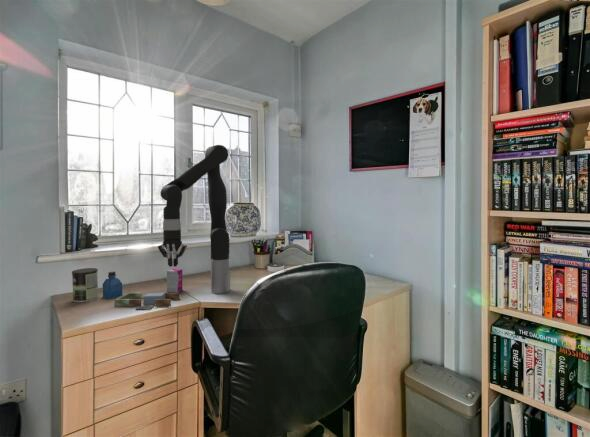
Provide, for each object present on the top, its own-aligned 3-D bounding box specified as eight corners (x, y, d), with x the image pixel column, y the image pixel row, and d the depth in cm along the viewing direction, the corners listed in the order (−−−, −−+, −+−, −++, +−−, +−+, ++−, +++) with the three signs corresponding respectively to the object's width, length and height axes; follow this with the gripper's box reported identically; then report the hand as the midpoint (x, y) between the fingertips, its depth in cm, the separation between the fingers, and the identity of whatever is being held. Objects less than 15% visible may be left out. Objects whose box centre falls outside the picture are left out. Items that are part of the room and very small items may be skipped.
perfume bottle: (109, 298, 149) (108, 274, 149) (103, 296, 153) (102, 272, 152) (122, 295, 155) (121, 271, 154) (115, 293, 158) (114, 270, 157)
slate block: (165, 301, 146) (165, 292, 146) (161, 304, 141) (161, 295, 141) (147, 301, 145) (147, 293, 145) (143, 305, 140) (143, 296, 140)
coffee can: (72, 303, 142) (71, 273, 141) (72, 298, 150) (71, 269, 149) (99, 299, 148) (98, 270, 147) (97, 294, 156) (96, 267, 155)
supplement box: (176, 293, 158) (176, 271, 157) (166, 292, 159) (165, 270, 158) (183, 290, 163) (182, 268, 163) (173, 289, 164) (172, 268, 164)
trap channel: (183, 296, 153) (183, 290, 153) (165, 310, 133) (165, 303, 133) (133, 295, 153) (133, 290, 153) (108, 309, 133) (108, 303, 133)
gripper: (189, 228, 145) (190, 264, 146) (161, 228, 145) (162, 264, 146) (183, 229, 137) (184, 268, 138) (153, 229, 138) (154, 268, 138)
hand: (173, 266), depth 142 cm, fingers closed
